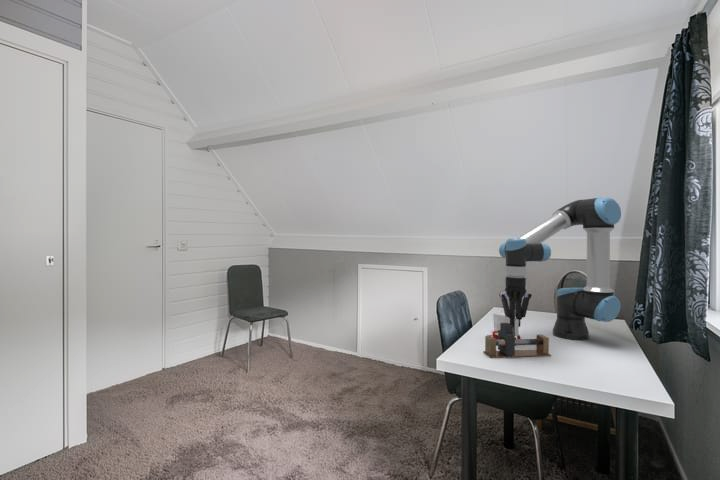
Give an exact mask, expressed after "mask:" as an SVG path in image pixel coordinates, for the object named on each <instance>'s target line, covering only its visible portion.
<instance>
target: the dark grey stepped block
mask: <svg viewBox="0 0 720 480" xmlns="http://www.w3.org/2000/svg"><path fill="white" fill-rule="evenodd" d="M515 338H516V336H515V335H513V334H512V325H511V324H509V323H500V330H498V340H502V339H505V346H497V351H501V352H503V353H504V354H506V355H507V356H514V355H515V350H516V348H515V347H516V346H515Z"/></svg>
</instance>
